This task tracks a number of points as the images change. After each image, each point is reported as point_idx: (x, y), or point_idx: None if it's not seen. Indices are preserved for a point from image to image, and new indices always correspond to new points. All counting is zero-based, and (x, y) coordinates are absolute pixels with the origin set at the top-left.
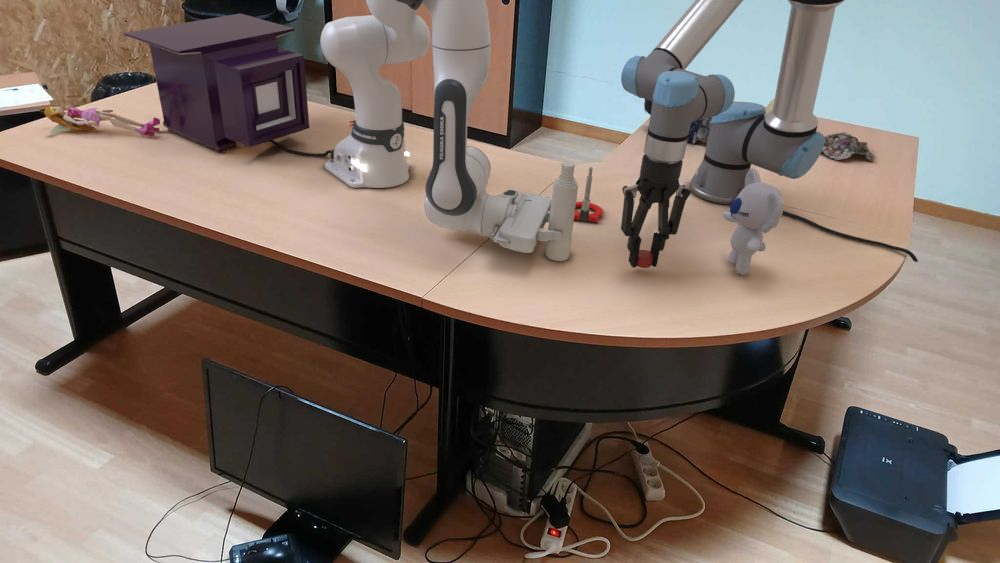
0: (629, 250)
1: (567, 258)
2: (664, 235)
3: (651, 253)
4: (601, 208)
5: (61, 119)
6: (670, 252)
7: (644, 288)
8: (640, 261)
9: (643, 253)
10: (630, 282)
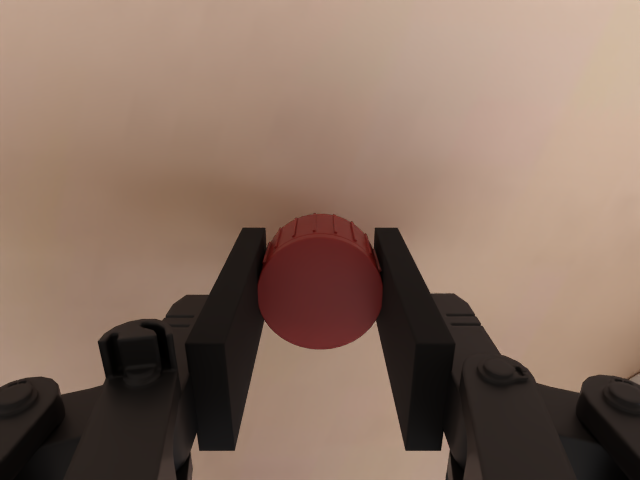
0: (460, 299)
1: (634, 379)
2: (153, 368)
3: (266, 301)
4: None
5: None
6: None
7: (355, 82)
8: (360, 239)
9: (323, 304)
10: (412, 153)
